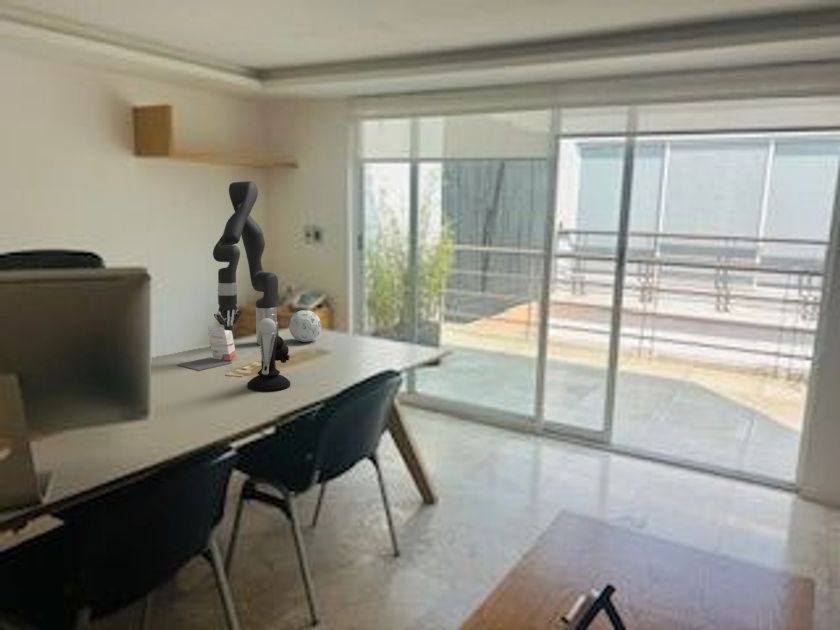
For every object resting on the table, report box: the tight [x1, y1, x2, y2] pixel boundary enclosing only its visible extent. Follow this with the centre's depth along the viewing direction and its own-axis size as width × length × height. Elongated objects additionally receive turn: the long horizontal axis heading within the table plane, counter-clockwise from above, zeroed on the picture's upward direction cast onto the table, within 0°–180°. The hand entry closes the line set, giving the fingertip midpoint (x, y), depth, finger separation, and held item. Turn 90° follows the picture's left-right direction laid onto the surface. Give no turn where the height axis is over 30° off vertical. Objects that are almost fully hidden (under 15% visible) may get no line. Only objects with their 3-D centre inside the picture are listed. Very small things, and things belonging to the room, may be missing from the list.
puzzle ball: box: [288, 309, 322, 343], centre depth 311 cm, size 15×15×15 cm
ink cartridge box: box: [207, 325, 237, 362], centre depth 271 cm, size 9×5×15 cm, turn 71°
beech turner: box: [225, 360, 262, 378], centre depth 259 cm, size 20×7×1 cm, turn 165°
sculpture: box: [246, 318, 291, 393], centre depth 240 cm, size 15×24×25 cm, turn 172°
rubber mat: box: [176, 356, 233, 372], centre depth 266 cm, size 16×14×1 cm
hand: (228, 334), depth 274 cm, fingers closed
